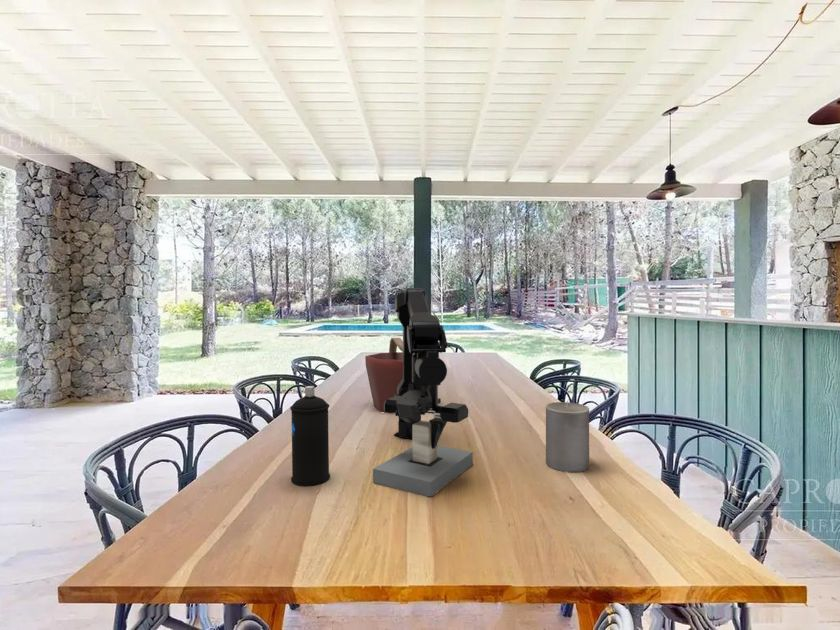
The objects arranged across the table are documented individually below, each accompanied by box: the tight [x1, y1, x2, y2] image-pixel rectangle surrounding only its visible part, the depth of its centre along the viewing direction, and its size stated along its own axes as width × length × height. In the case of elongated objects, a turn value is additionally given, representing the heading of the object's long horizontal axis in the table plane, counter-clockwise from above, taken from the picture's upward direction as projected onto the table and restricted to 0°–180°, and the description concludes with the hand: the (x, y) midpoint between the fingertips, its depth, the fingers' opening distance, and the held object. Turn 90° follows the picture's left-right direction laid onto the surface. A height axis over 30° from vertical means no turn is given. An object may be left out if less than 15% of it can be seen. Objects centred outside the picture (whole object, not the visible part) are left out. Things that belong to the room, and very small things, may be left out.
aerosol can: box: [289, 385, 331, 487], centre depth 98 cm, size 8×8×20 cm
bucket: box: [365, 337, 403, 414], centre depth 160 cm, size 24×22×25 cm
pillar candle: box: [545, 400, 590, 473], centre depth 105 cm, size 10×10×15 cm
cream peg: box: [411, 419, 438, 464], centre depth 100 cm, size 4×4×8 cm
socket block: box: [372, 445, 474, 498], centre depth 101 cm, size 20×14×3 cm
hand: (425, 446), depth 100 cm, fingers closed on cream peg, 4 cm apart
